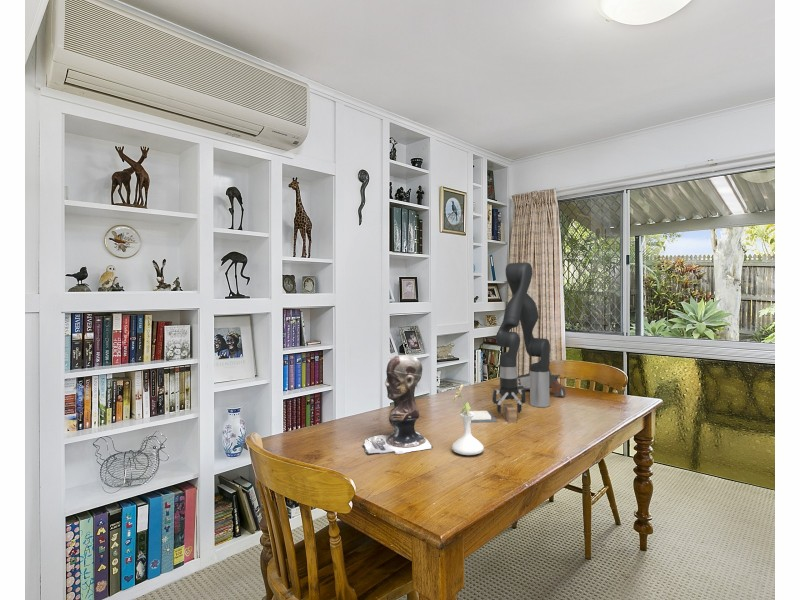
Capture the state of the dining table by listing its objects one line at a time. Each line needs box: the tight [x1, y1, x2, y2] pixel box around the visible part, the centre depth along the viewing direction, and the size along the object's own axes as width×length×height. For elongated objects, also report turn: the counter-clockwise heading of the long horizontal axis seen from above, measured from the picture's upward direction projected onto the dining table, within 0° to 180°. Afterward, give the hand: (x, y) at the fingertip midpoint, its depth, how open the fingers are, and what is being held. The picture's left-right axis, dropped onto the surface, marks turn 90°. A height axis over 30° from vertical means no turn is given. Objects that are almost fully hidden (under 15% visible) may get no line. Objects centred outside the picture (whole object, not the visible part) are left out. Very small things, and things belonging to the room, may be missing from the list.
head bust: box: [362, 354, 434, 456], centre depth 171 cm, size 22×25×35 cm
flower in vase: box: [451, 384, 485, 456], centre depth 160 cm, size 13×11×25 cm
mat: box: [471, 411, 498, 424], centre depth 203 cm, size 14×14×1 cm
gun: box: [517, 368, 567, 398], centre depth 247 cm, size 5×27×15 cm, turn 37°
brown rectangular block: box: [502, 403, 518, 424], centre depth 199 cm, size 10×4×6 cm, turn 1°
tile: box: [467, 410, 491, 421], centre depth 201 cm, size 2×9×9 cm
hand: (509, 412), depth 199 cm, fingers open, 8 cm apart
